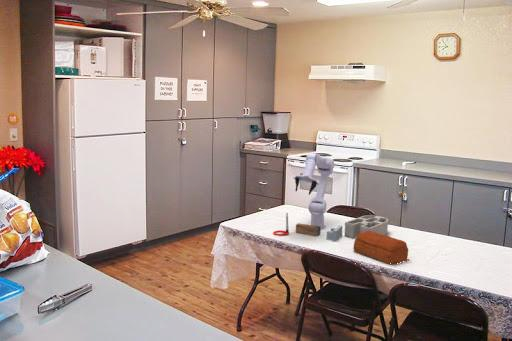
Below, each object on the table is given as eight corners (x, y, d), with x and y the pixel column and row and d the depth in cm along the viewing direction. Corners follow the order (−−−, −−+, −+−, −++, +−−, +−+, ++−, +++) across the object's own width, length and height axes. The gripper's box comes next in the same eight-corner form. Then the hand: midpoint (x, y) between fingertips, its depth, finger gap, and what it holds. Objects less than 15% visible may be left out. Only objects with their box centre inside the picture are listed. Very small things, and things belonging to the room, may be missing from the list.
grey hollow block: (343, 236, 282) (344, 222, 281) (367, 227, 303) (368, 213, 301) (369, 243, 271) (370, 228, 270) (392, 232, 292) (393, 219, 290)
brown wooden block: (298, 231, 291) (298, 223, 290) (320, 234, 285) (320, 226, 284) (295, 233, 287) (295, 224, 286) (318, 236, 281) (318, 228, 280)
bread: (391, 266, 236) (393, 245, 234) (350, 251, 257) (351, 232, 255) (410, 260, 245) (412, 240, 243) (369, 246, 266) (370, 227, 264)
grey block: (332, 234, 286) (332, 224, 285) (342, 235, 283) (342, 226, 282) (325, 239, 275) (326, 229, 274) (335, 241, 272) (336, 231, 271)
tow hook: (272, 236, 281) (288, 236, 281) (272, 214, 279) (288, 214, 279) (273, 232, 290) (288, 232, 289) (272, 211, 287) (288, 211, 287)
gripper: (296, 165, 275) (290, 185, 269) (321, 171, 272) (315, 192, 266) (296, 171, 281) (290, 191, 275) (320, 177, 278) (315, 197, 272)
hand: (302, 192), depth 271 cm, fingers open, 7 cm apart
